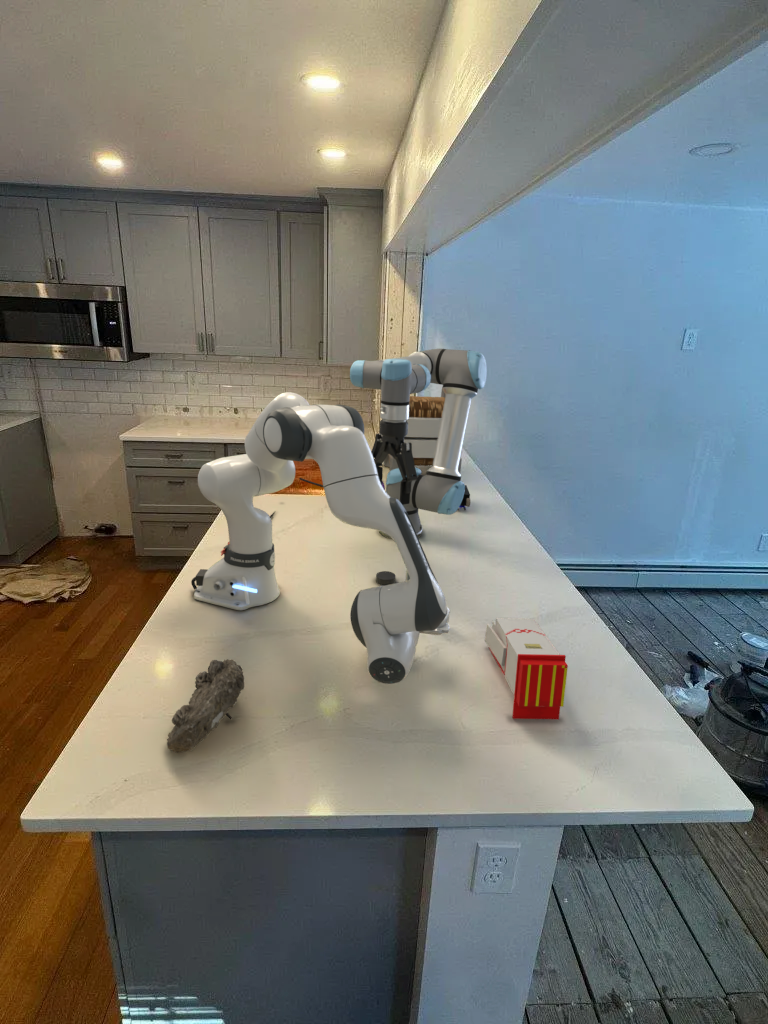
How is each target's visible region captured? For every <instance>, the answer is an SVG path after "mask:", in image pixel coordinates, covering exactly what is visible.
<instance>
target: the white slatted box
mask: <svg viewBox="0 0 768 1024" xmlns="http://www.w3.org/2000/svg"><path fill="white" fill-rule="evenodd" d="M442 388H443V386H442V387H441V392H440V393H441V394H440V396H415V395H414V396H413V395H412V396H411V395H410V399H409V419H408V420H406V421H407V422H408V434H407V435H406V436H405V437H404V443H411V444H412V455H413V459H414V464H415V467H417V466H418V467H432V466H433V460H434V455H435V450H436V444H437V439H438V434H439V428H440V423H441V418H442V412H443V407H444V402H445V396H446V394H445V393H444V391H443V390H442ZM406 452H407V451H406ZM462 453H463V450H462V451H461V454H462ZM400 454H401V453H400ZM462 461H463V460H462V455H461V456H460V461H459V467H458V472H459V473H460V475H461V472H462ZM382 465H383V466H384V467H388V468H389V472H390V471H391V470H393V469H397V468H399V467H398V465H397V462H396V460H395V459H394V458H393V456H391V455H390V454H388V456H387V457H386V459H385V460H384V462H383V463H382Z"/></svg>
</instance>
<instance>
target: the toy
mask: <svg viewBox="0 0 768 1024" xmlns="http://www.w3.org/2000/svg"><path fill="white" fill-rule="evenodd" d="M484 642H485V643H486V645H487V646H488V650H489V651H490V654H491V655H492V657H493V659H494V660H495V662H496V664H497V666H498V667H499V669H500V671H501V672H502V675H503V676H504V678H505V680H506V682H507V684H508V686H509V688H510V691H511V693H512V694H513V704H512V705H513V706H512V715H511V717H512V719H513V720H560V714H561V708H563V707H564V704H565V695H566V685H567V677H568V668H569V666H568V663H567V662H566V657H567V656H566V654H560V653H559V651H558V650H557V648H556V647H555V646H554V645H553V643H552V642H551V640H550V639H549V638H548V636H547V635H546V634H545V632H544V631H543V629H542V628H541V627H540V625H539V623H537V621H536V620H535V619H534V618H523V617H522V618H521V617H520V618H519V617H516V618H515V617H496V618H495V620H492V622H491V624H490V623H486V629H485V637H484Z"/></svg>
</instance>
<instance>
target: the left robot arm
mask: <svg viewBox="0 0 768 1024" xmlns="http://www.w3.org/2000/svg"><path fill="white" fill-rule="evenodd" d="M244 450H245V453H243V454H237V455H231V456H224V457H220V458H216V459H214V460H211V461H209V462H206V463H204V464H203V465H202V466H201V467H200V469H199V471H198V475H197V486H198V489H199V491H200V493H201V495H202V496H203V497H204V498H205V499H206V500H207V501H209V502H211V503H213V504H214V505H216V507H218V508H219V509H220V510H221V511H222V513H223V515H224V517H225V519H226V524H227V530H228V531H227V532H228V540H229V541H227V544H226V545H225V546H224V547H223V549H222V550H221V551H220V556H223V557H222V558H220V559H219V560H218V561H216V562H215V563H214V564H212V565H211V566H210V567H209V568H208V569H207V568H206V569H204V568H203V569H202V568H200V569H199V570H198V572H197V573H196V575H195V576H194V577H193V578H192V579H191V581H190V584H191V586H192V589H193V590H194V595H193V598H194V599H195V600H196V601H200V602H205V603H207V604H211V605H212V604H213V605H216V606H220V607H222V608H223V607H224V608H228V609H232V610H235V611H245V610H247V609H251V608H253V607H258V606H264V605H267V604H270V603H271V602H273V601H275V600H276V599H277V598H278V597H279V596H280V594H281V589H280V587H279V585H278V584H279V583H278V581H277V577H276V570H275V564H276V553H275V552H276V551H275V544H274V543H273V520H272V518H270V516H271V515H269V513H268V512H266V511H265V510H263V509H261V508H258V507H256V506H254V503H253V501H254V498H255V497H261V496H264V495H269V494H275V493H277V492H279V491H281V490H284V489H286V488H288V487H290V486H291V485H292V484H293V483H294V481H295V478H296V466H295V462H301V463H303V462H304V460H313V461H315V462H316V463H317V464H318V467H319V470H320V475H321V476H320V477H321V482H322V485H323V487H322V488H323V491H324V496H325V499H326V503H327V505H328V509H329V510H330V512H331V514H332V515H333V516H334V517H335V518H336V519H337V520H338V521H340V522H342V523H344V524H346V525H348V526H351V527H356V528H361V529H368V530H373V531H374V530H375V531H378V532H379V531H382V532H384V533H386V534H388V535H389V536H390V537H391V538H392V539H391V540H393V541H394V543H395V545H396V547H397V550H398V553H399V555H400V557H401V559H402V563H403V564H404V566H405V570H406V569H407V572H408V574H409V577H410V579H409V580H408V581H406V580H405V581H401V582H395V583H394V584H390V585H385V586H383V585H378V586H373V587H370V588H365V589H360V591H358V592H357V593H356V596H355V597H354V599H353V602H352V604H351V608H350V614H349V615H350V617H349V618H350V624H351V627H352V628H351V629H352V630H353V633H354V635H355V637H356V638H357V640H358V641H359V642H360V644H361V645H362V646H363V647H365V648H366V654H367V655H366V656H367V659H366V667H367V668H366V669H367V671H368V674H369V675H370V677H371V678H372V679H373V680H374V681H376V682H378V683H381V684H385V685H393V684H397V683H401V682H403V680H405V679H406V677H408V675H409V673H410V671H411V668H412V666H413V663H414V659H415V656H416V651H417V648H416V647H417V645H418V643H419V638H420V634H426V635H431V636H442V635H443V634H448V633H449V631H450V624H449V622H450V615H451V614H450V613H451V610H450V609H451V608H449V607H448V604H447V599H446V596H445V593H444V591H443V590H442V587H441V585H440V584H439V582H438V580H437V578H436V575H435V574H434V571H433V569H432V567H431V565H430V562H429V560H428V558H427V556H426V553H425V551H424V548H423V545H422V543H421V540H420V537H418V536H417V534H416V531H415V529H414V527H413V525H412V522H411V520H410V518H409V516H408V514H407V512H406V510H405V508H404V506H403V505H402V504H401V502H400V501H399V500H398V499H395V498H391V497H390V496H389V495H388V494H387V493H386V489H385V490H384V488H383V487H382V485H381V482H380V480H379V476H378V472H377V468H376V465H375V461H374V459H375V458H373V455H372V452H371V451H372V449H371V447H370V445H369V442H368V440H367V438H366V436H365V424H364V419H363V417H362V415H361V413H360V412H359V411H358V410H357V409H356V408H354V407H352V406H350V405H345V404H340V403H339V404H310V402H308V400H307V399H306V398H305V397H304V396H302V395H301V394H299V393H296V392H290V391H285V392H282V393H280V394H278V395H276V396H275V397H274V398H273V399H272V400H271V401H270V402H269V403H268V404H267V405H266V406H265V407H264V408H263V409H262V411H261V412H260V414H259V415H258V417H257V418H256V420H255V421H254V423H253V425H252V426H251V428H250V430H249V431H248V433H247V435H246V436H245V439H244Z"/></svg>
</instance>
